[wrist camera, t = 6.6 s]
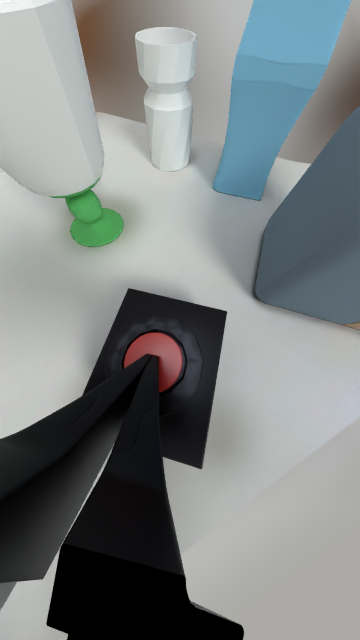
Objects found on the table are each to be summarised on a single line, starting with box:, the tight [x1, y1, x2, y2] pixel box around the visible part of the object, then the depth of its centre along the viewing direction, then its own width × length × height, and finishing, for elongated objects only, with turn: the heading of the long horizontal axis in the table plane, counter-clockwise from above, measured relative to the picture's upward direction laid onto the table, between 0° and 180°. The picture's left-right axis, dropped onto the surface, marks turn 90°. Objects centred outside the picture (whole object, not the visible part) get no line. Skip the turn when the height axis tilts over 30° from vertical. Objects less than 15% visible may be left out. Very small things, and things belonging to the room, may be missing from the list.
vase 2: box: [213, 0, 351, 200], centre depth 16 cm, size 10×10×25 cm
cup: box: [0, 0, 123, 247], centre depth 16 cm, size 14×14×16 cm
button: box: [124, 332, 183, 392], centre depth 10 cm, size 4×4×2 cm
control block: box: [82, 288, 227, 469], centre depth 13 cm, size 12×10×8 cm
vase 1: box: [135, 27, 197, 172], centre depth 24 cm, size 9×9×12 cm
